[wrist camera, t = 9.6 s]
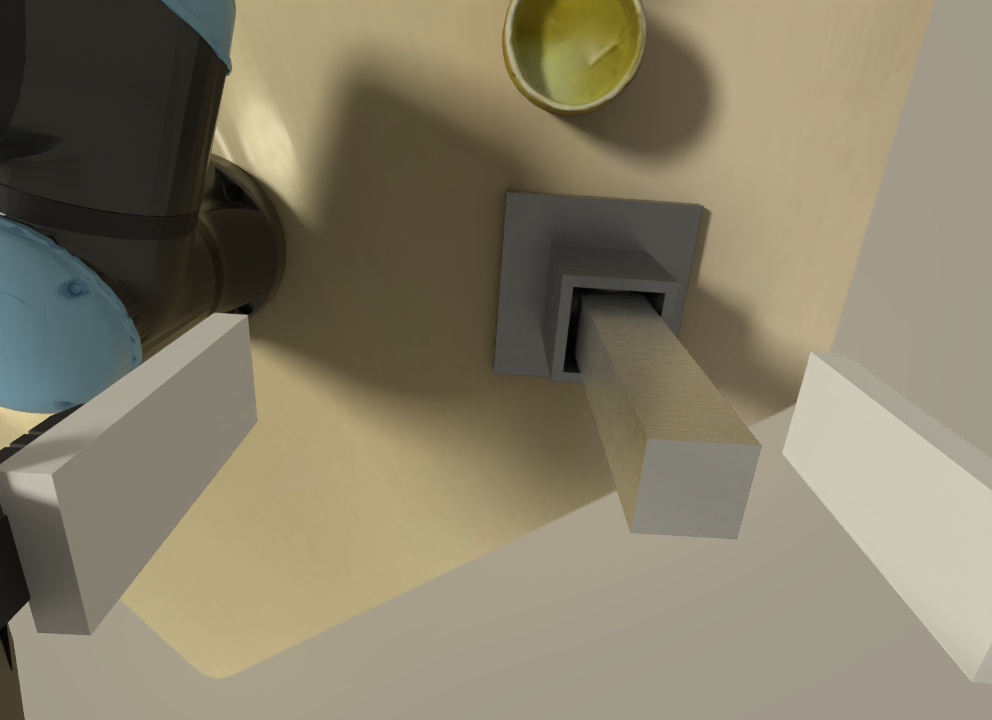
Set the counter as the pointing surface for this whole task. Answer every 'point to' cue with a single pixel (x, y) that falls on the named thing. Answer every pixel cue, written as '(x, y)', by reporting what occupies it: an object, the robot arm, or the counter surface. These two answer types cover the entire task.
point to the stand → (584, 270)
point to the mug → (573, 51)
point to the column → (661, 422)
